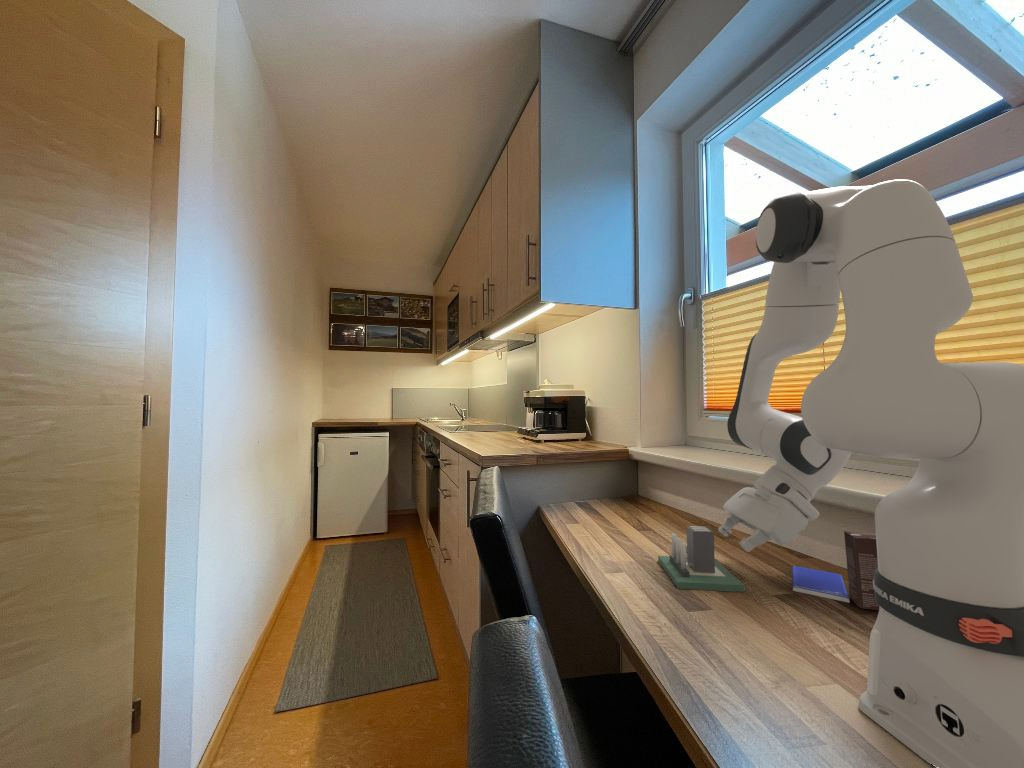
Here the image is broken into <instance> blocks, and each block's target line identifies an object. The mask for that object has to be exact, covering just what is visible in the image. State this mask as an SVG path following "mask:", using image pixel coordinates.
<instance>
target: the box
mask: <svg viewBox="0 0 1024 768" xmlns="http://www.w3.org/2000/svg"><path fill="white" fill-rule="evenodd" d="M843 533H844V544H845V558H846V567H847V580H848V581H847V582H848V589H849V590H848V591H849V593H848V595H849V600H851V601H852V602H853V603H854V604H855V605H856V606H857V607H859V608H860V609H867V610H873V611H879V606H880V605H879V604H878V603H877V602H876V601H875V593H874V588H873V580H874V570H875V569H876V568H878V559H877V543H876V532H874V533H872V532H859V531H849V530H848V531H847V530H845V531H844V532H843Z"/></svg>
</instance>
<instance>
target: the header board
mask: <svg viewBox="0 0 1024 768" xmlns="http://www.w3.org/2000/svg"><path fill="white" fill-rule="evenodd" d="M657 558H658V559H657V561H658V563H659V564H660V566H661V565H662V566H661V567H662V568H663V570H664V571H665V573H666V572H667V573H666V574H667V576H668V577H669V576H670V577H669V578H670V580H671V579H672V580H671V581H672V583H674V585H675V586H677V587H676V588H677V589H678V588H680V589H681V590H697V589H698V591H699V590H700V591H701V590H703V591H719V592H720V591H721V592H736V591H738V593H739V592H741V593H744V592H745V590H746V589H745V584H743V582H741V581H740V580H739V579H738V578H737V577H736V576H734V575H733V573H731V572H730V571H729V570H728V569H727V568H726V567H724V565H722V564H721V563H720V562H719V561H718V560H717V559H716V558H715V573H701V572H694V571H693V570H692V569H691V568H690V567H689V566H688V564H687V542H682V538H680V537H677V533H671V555H658V556H657Z"/></svg>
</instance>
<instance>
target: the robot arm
mask: <svg viewBox="0 0 1024 768" xmlns="http://www.w3.org/2000/svg"><path fill="white" fill-rule="evenodd" d="M755 246H756V249H757V252H758V254H759V255H760V256H761V257H762V258H763V259H764V260H766V261H769V262H771V263H772V262H773V264H772V268H771V272H770V275H769V279H768V283H767V289H766V294H765V295H766V297H765V303H764V313H763V317H762V321H761V324H760V326H759V329H758V331H757V332H756V333H755V334H754V335H753V336H752V338H750V341H749V343H748V346H747V349H746V352H745V353H746V354H745V357H744V361H743V365H742V369H741V370H742V371H741V375H740V380H739V384H738V388H737V392H736V393H737V394H736V397H735V401H734V404H733V406H732V408H731V410H730V413H729V416H728V418H727V424H726V425H727V432H728V434H729V435H728V436H729V437H730V439H731V440H732V441H733V442H734V443H735V444H737V445H739V446H741V447H744V448H747V449H749V450H753V451H755V452H758V453H760V454H762V455H764V456H766V457H768V458H770V459H771V458H772V459H774V460H775V464H773V465H772V466H770V467H769V468H768V469H767V470H766V471H765V472H764V473H763V474H762V475H761V476H760V477H759V478H758V479H757V480H756V481H755V482H754V485H753V486H750V487H749V486H746V487H743V488H741V489H740V490H738V491H737V492H736V493H735V494H733V495H732V496H731V497H730V498H728V500H726V501H725V503H724V504H723V507H722V510H723V511H725V512H726V514H727V515H726V516H725V518H724V520H723V522H722V524H721V525H720V526H719V527H718V528H717V529H718V532H719V533H720V534H721V535H723V536H724V537H726V538H727V537H729V535H731V534H732V533H733V531H732V529H733V528H734V527H735V526H737V525H738V524H739V523H741V524H742V525H744V526H746V527H747V528H750V529H751V530H753V534H751V535H750V536H748V537H747V538H746V537H743V538H742V539H741V541H739V542H738V545H739V547H740V548H742V549H743V550H744V551H746V552H747V553H751V551H752V550H754V549H755V548H756V547H759V546H761V545H764V544H765V543H767V542H768V541H769V540H770V541H772V542H774V543H776V544H777V545H779V546H783V545H785V544H788V543H790V542H792V541H793V540H794V539H795V538H796V537H797V536H799V534H800V533H802V531H803V530H804V529H806V528H807V526H808V525H809V521H811V522H814V521H815V520H817V518H819V516H820V512H819V510H818V509H816V507H814V505H813V504H812V503H811V501H812V500H813V499H814V498H815V496H816V494H817V493H818V491H820V489H821V488H823V487H825V486H827V485H828V484H830V483H831V482H832V481H833V480H834V479H835V478H836V476H837V475H838V474H839V473H840V472H841V471H842V470H843V469H844V468H845V466H846V464H847V463H848V461H849V460H850V458H851V455H852V454H853V455H854V454H855V455H859V456H865V457H871V458H890V459H891V458H895V459H896V458H897V459H898V458H902V459H919V463H918V466H917V469H916V471H915V473H914V474H913V476H912V477H911V479H910V480H909V481H908V483H906V484H905V485H904V486H903V487H901V488H900V489H897V490H895V491H893V492H891V493H889V494H887V495H885V496H884V497H883V498H882V499H881V500H879V502H878V504H877V506H876V508H875V511H874V525H875V534H876V543H877V559H878V568H876V569H875V570H874V580H873V588H874V593H875V601H876V602H877V603H878V604H879V605H880V606H879V610H878V614H877V617H876V619H875V622H874V625H873V627H872V629H871V631H870V635H869V636H870V637H869V647H868V664H867V679H866V681H867V683H866V690H865V691H863V692H862V693H861V694H860V695H859V697H858V709H859V710H860V711H862V713H863V714H864V715H866V716H867V717H868V718H870V719H871V720H872V721H874V722H875V723H876V724H877V725H879V726H880V727H882V729H884V730H885V731H887V733H889V734H891V735H892V736H893V737H894V738H896V739H897V740H898V741H899V742H901V743H902V744H903V745H905V746H906V747H907V748H909V749H910V750H911V751H913V752H914V753H915V754H916V755H918V756H919V757H920V758H922V759H923V760H924V761H925V762H927V763H928V764H929V763H930V764H929V765H931V764H932V765H935V766H936V767H939V768H1024V364H1023V363H1022V364H1021V363H1015V362H1014V363H1013V362H1008V361H1007V362H1006V361H992V362H991V361H989V362H986V361H984V362H982V361H981V362H979V361H978V362H940V361H939V360H938V358H937V355H936V349H935V344H936V337H937V335H938V334H941V333H942V332H944V331H946V330H948V329H950V328H951V327H953V326H954V325H955V324H956V323H958V322H959V321H961V320H962V318H963V317H965V315H966V314H967V313H968V311H969V310H970V309H971V307H972V305H973V301H974V294H973V292H972V287H971V286H970V285H971V284H970V282H969V279H968V276H967V273H966V270H965V267H964V263H963V261H962V258H961V254H960V251H959V249H958V245H957V243H956V239H955V236H954V234H953V232H952V229H951V227H950V225H949V222H948V221H947V218H946V216H945V215H944V213H943V211H942V210H941V207H940V206H939V205H938V203H937V201H936V200H935V199H934V197H933V196H932V194H931V193H930V192H929V191H928V189H927V188H926V187H925V186H923V185H922V184H920V183H918V182H917V181H914V180H910V179H892V180H886V181H883V182H878V183H876V184H873V185H861V186H860V185H858V186H846V185H843V186H835V187H830V188H829V187H828V188H822V189H817V190H810V191H805V192H800V191H799V192H798V191H796V192H792V193H787V194H784V195H782V196H781V195H780V196H778V197H776V198H773V199H772V200H770V202H768V204H767V205H766V206H765V207H764V208H763V209H762V211H761V212H760V215H759V217H758V221H757V224H756V229H755ZM841 298H842V303H843V310H844V318H845V319H844V320H845V332H844V333H845V334H844V340H843V342H842V346H841V348H840V350H839V353H838V354H837V356H836V357H835V359H834V360H833V361H832V362H831V363H830V364H829V366H827V367H826V368H825V369H824V370H822V371H821V372H820V373H819V374H817V375H816V376H815V377H814V378H813V379H812V380H811V381H810V382H809V384H808V385H807V386H806V388H805V390H804V392H803V395H802V398H801V402H800V403H801V404H800V413H801V416H800V415H797V414H792V413H789V412H785V411H782V410H779V409H775V408H773V407H772V406H771V404H770V403H769V397H770V392H771V389H772V384H773V380H774V376H775V372H776V369H777V367H778V365H780V363H781V362H782V361H784V360H785V359H787V358H789V357H793V356H796V355H800V354H804V353H807V352H810V351H812V350H815V349H816V348H818V347H819V346H821V345H823V344H824V343H825V342H826V341H828V340H829V339H830V337H832V335H833V333H834V331H835V329H836V326H837V323H838V317H839V309H840V299H841ZM932 765H931V766H932Z"/></svg>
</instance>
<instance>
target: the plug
mask: <svg viewBox="0 0 1024 768" xmlns="http://www.w3.org/2000/svg"><path fill="white" fill-rule="evenodd" d="M686 557H687V564H688V566H689V567H690V568H691V569H692V570H693V571H694V572H701V573H715V559H716V558H715V557H716V556H715V534H714V531H712V529H710V528H709V527H708V526H704V525H703V526H701V525H698V526H695V525H686Z"/></svg>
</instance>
